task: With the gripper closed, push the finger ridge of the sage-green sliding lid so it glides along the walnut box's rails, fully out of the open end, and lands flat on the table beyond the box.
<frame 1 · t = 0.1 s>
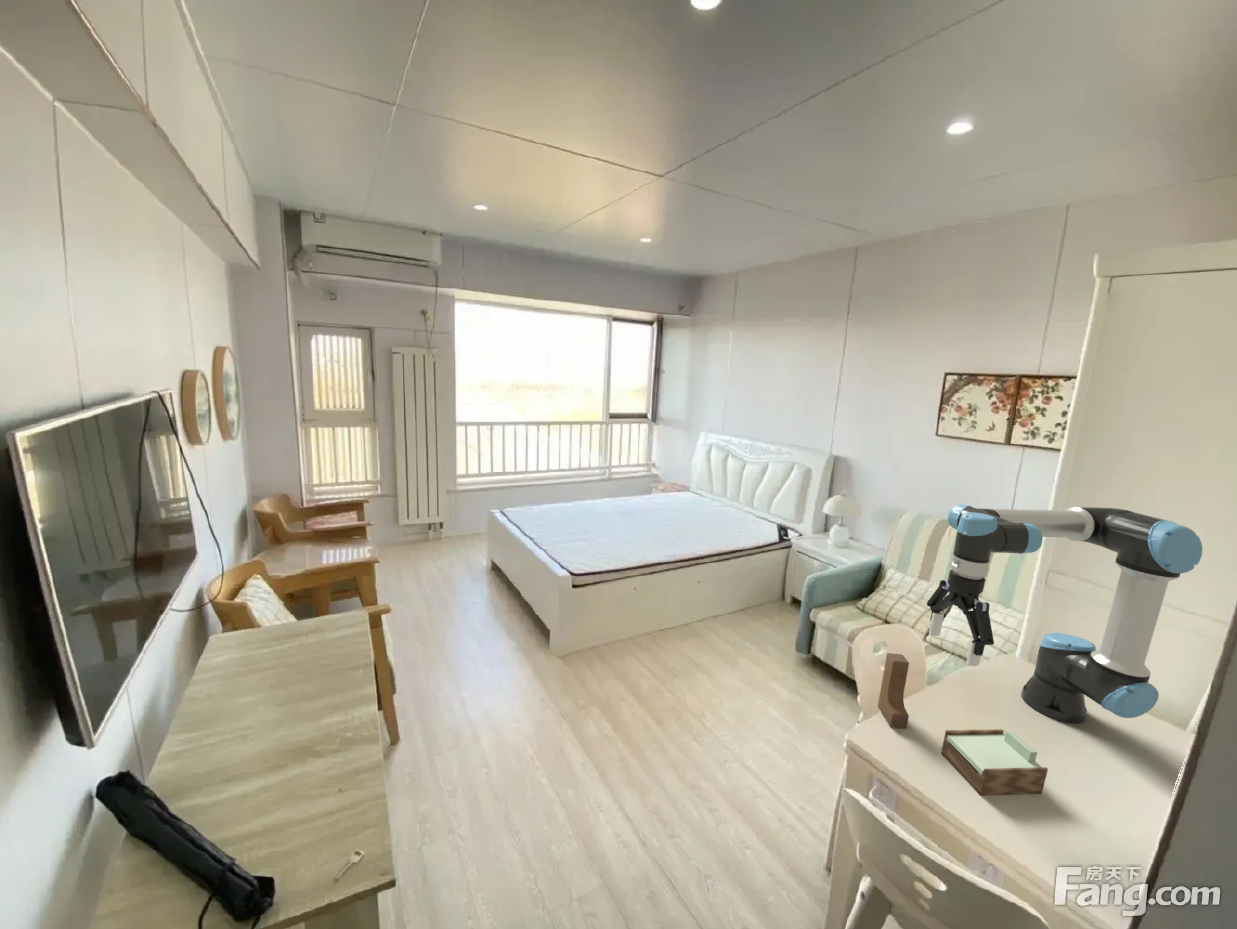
hand: (952, 649, 129), 28 cm above the table, fingers open, 13 cm apart
wooden block: (891, 718, 143), on the table
box: (989, 772, 125), on the table
lid: (993, 755, 124), point 5 cm above the table, touching box
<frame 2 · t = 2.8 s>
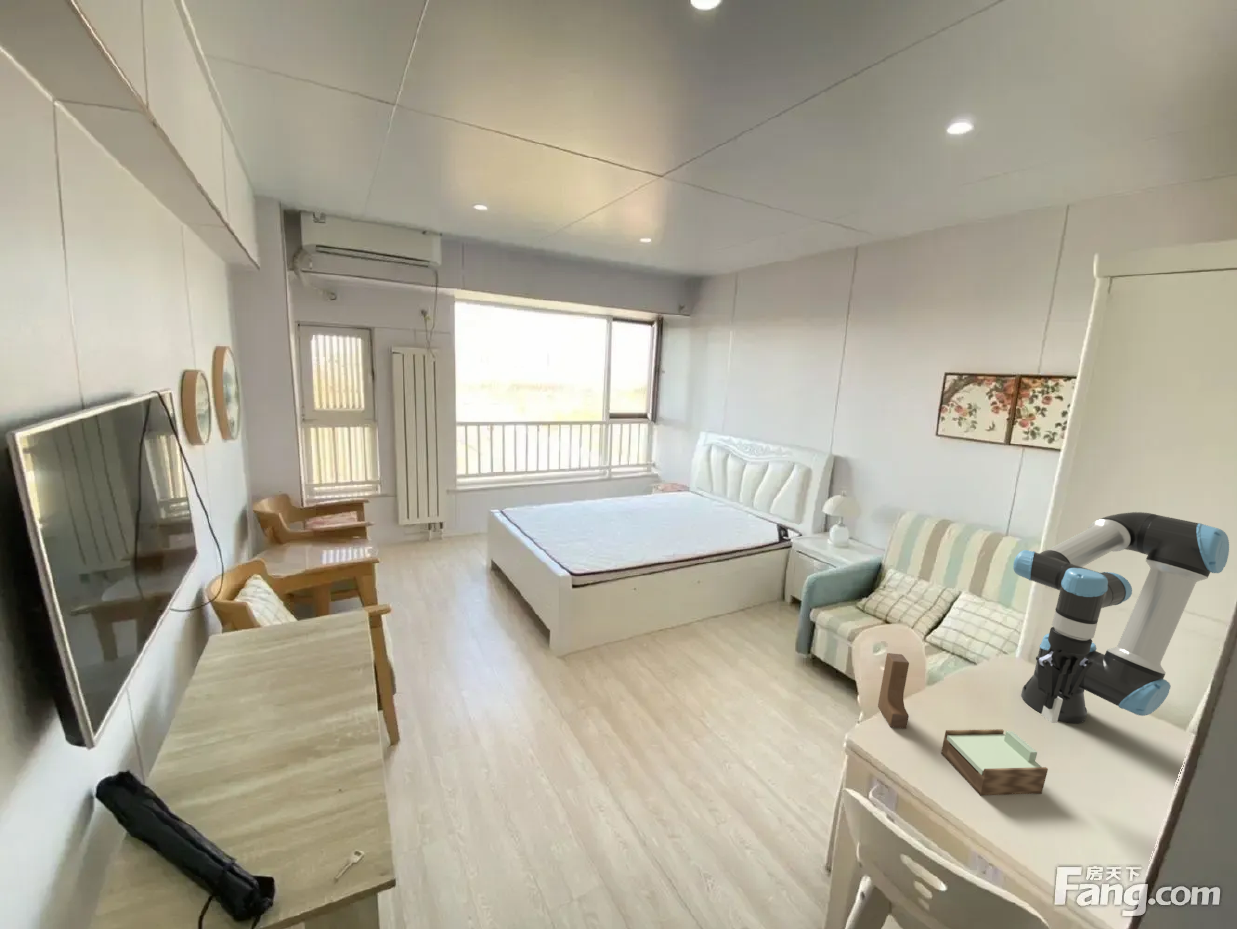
hand: (1048, 718, 122), 15 cm above the table, fingers closed
nothing on the table moved.
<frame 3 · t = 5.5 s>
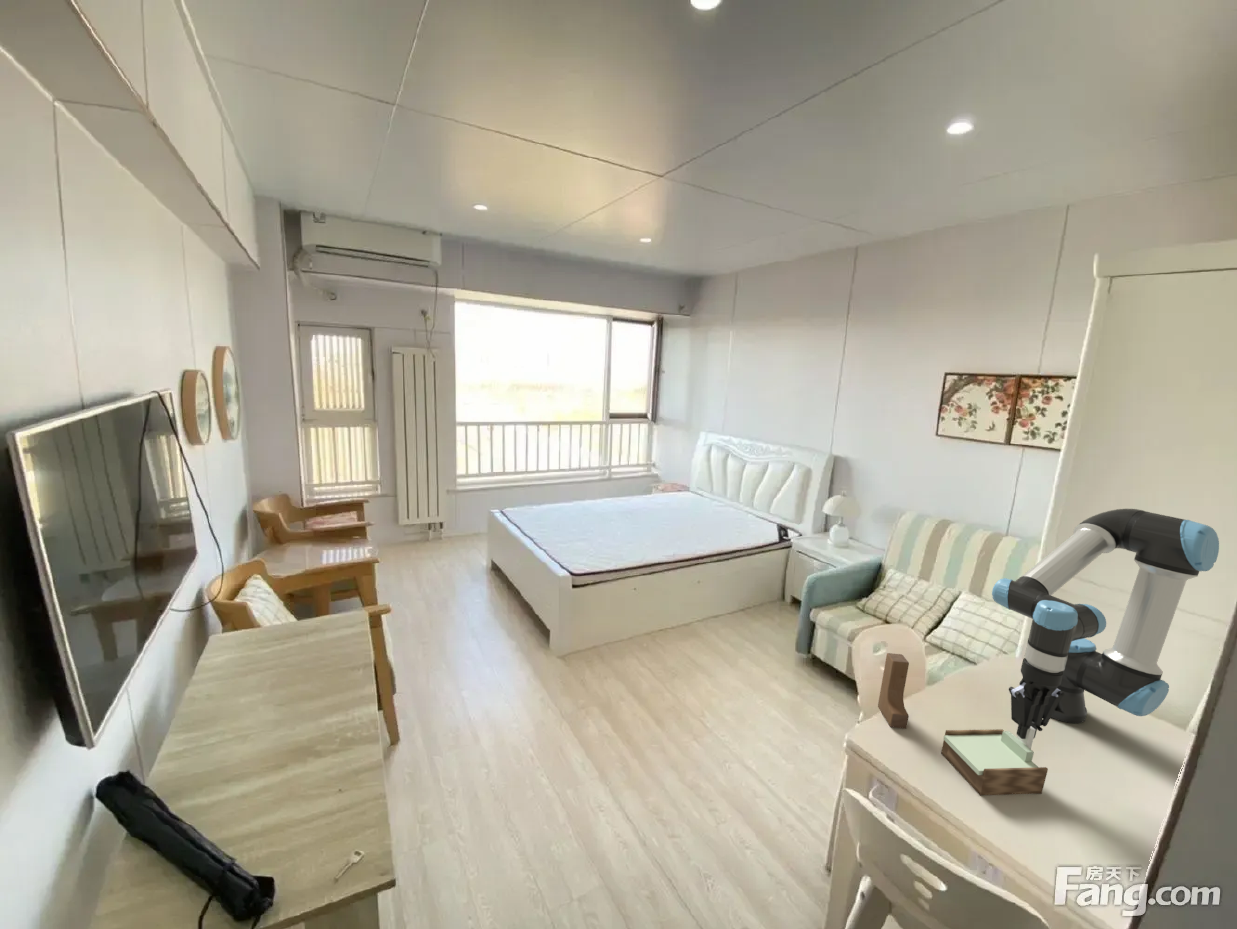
hand: (1022, 748, 124), 7 cm above the table, fingers closed
lid: (989, 755, 123), point 5 cm above the table, touching box, gripper
everything else where it was.
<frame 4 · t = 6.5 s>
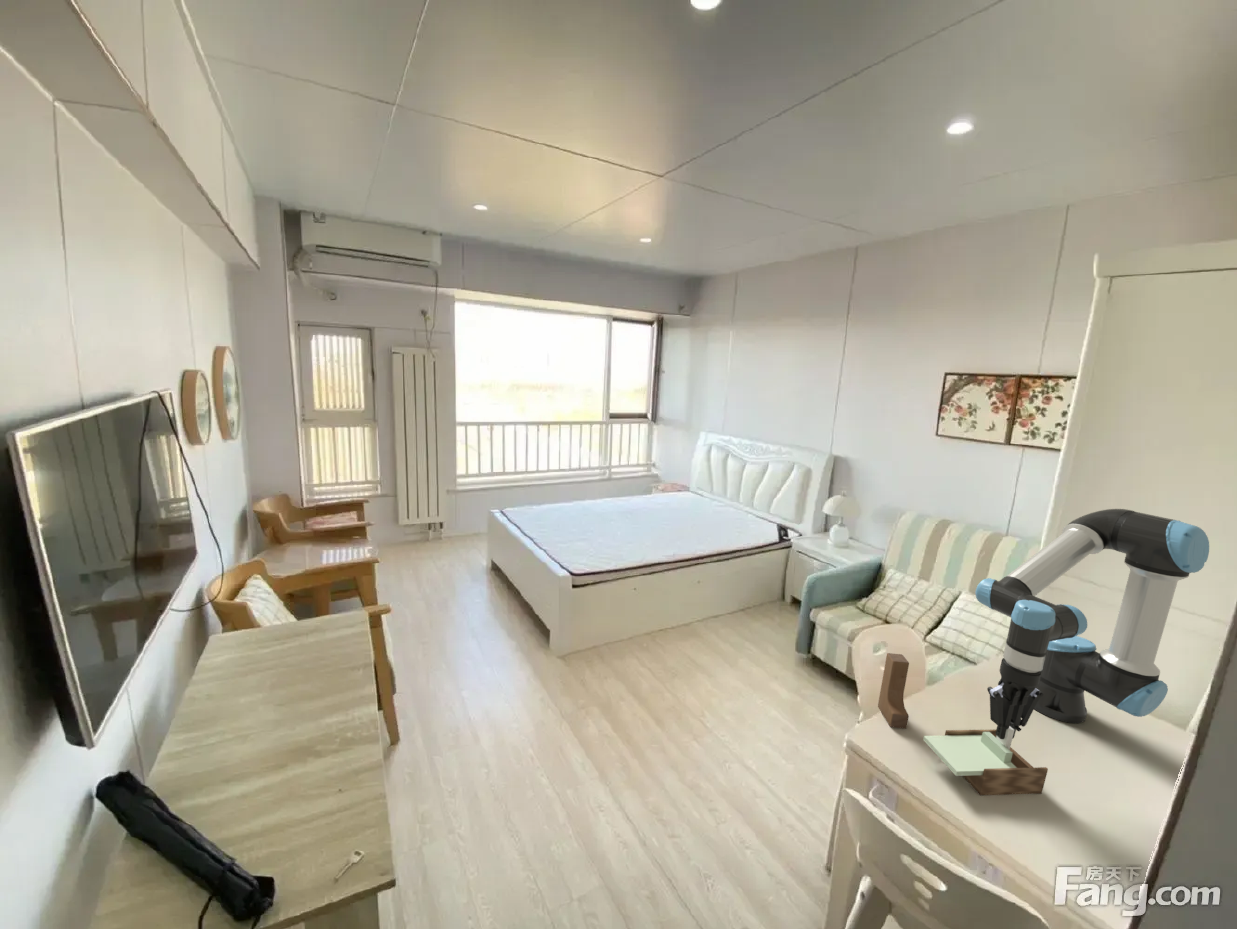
hand: (1001, 748, 123), 7 cm above the table, fingers closed
lid: (968, 756, 123), point 5 cm above the table, touching gripper
everything else where it was.
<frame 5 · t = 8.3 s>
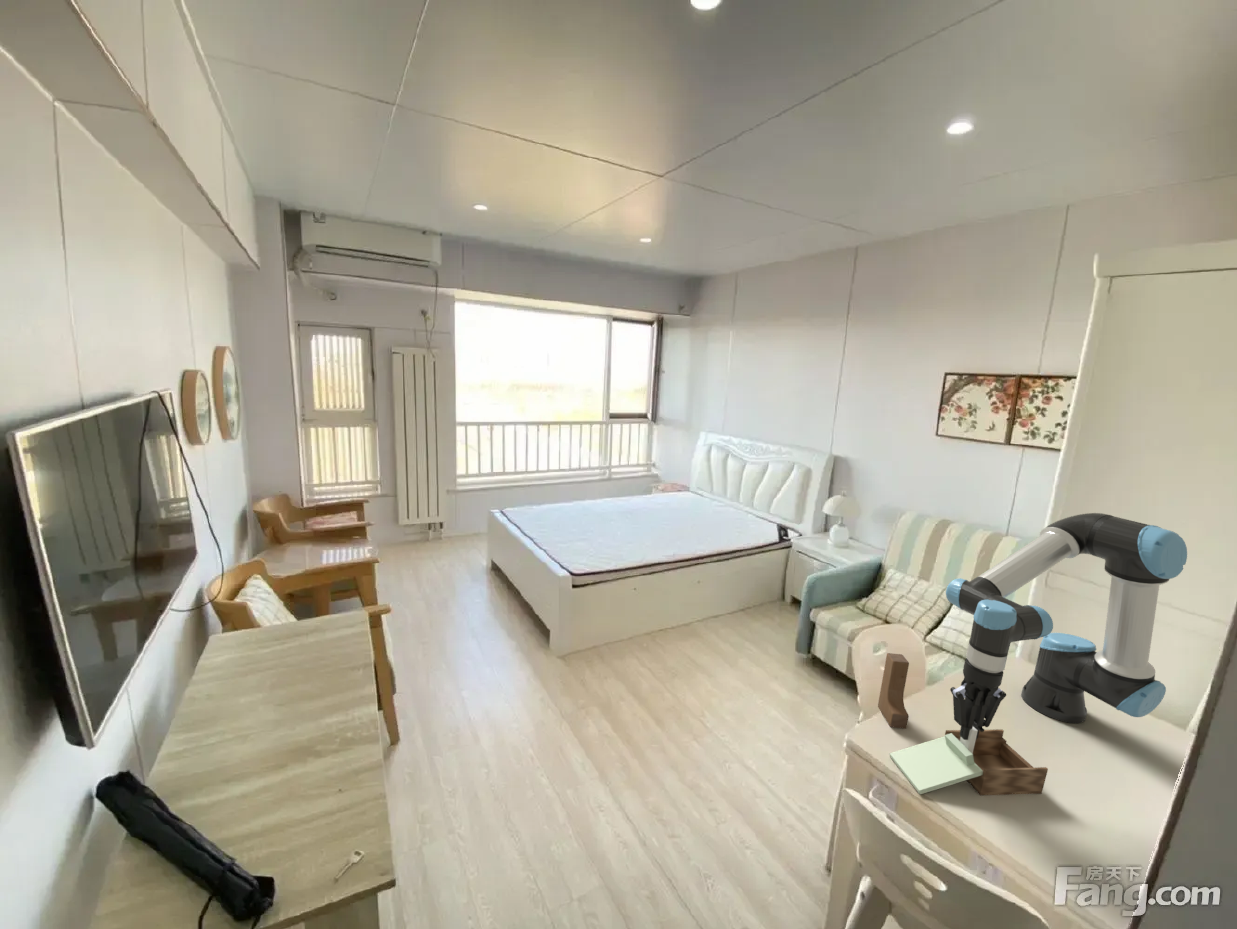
hand: (965, 749, 122), 7 cm above the table, fingers closed
lid: (934, 765, 123), point 3 cm above the table, tilted 19°
everything else where it was.
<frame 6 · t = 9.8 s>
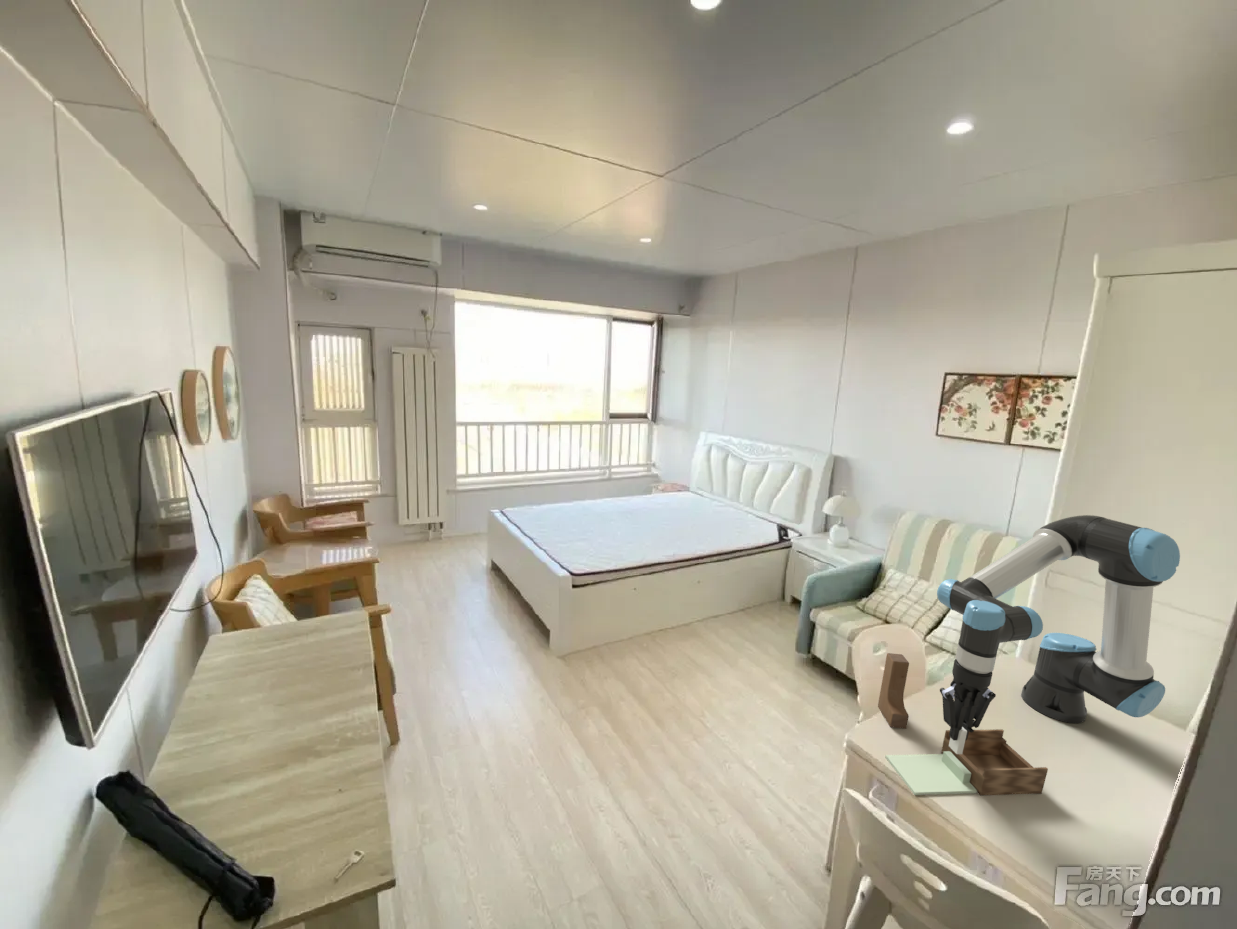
hand: (955, 749, 122), 7 cm above the table, fingers closed
lid: (928, 776, 123), on the table
everything else where it was.
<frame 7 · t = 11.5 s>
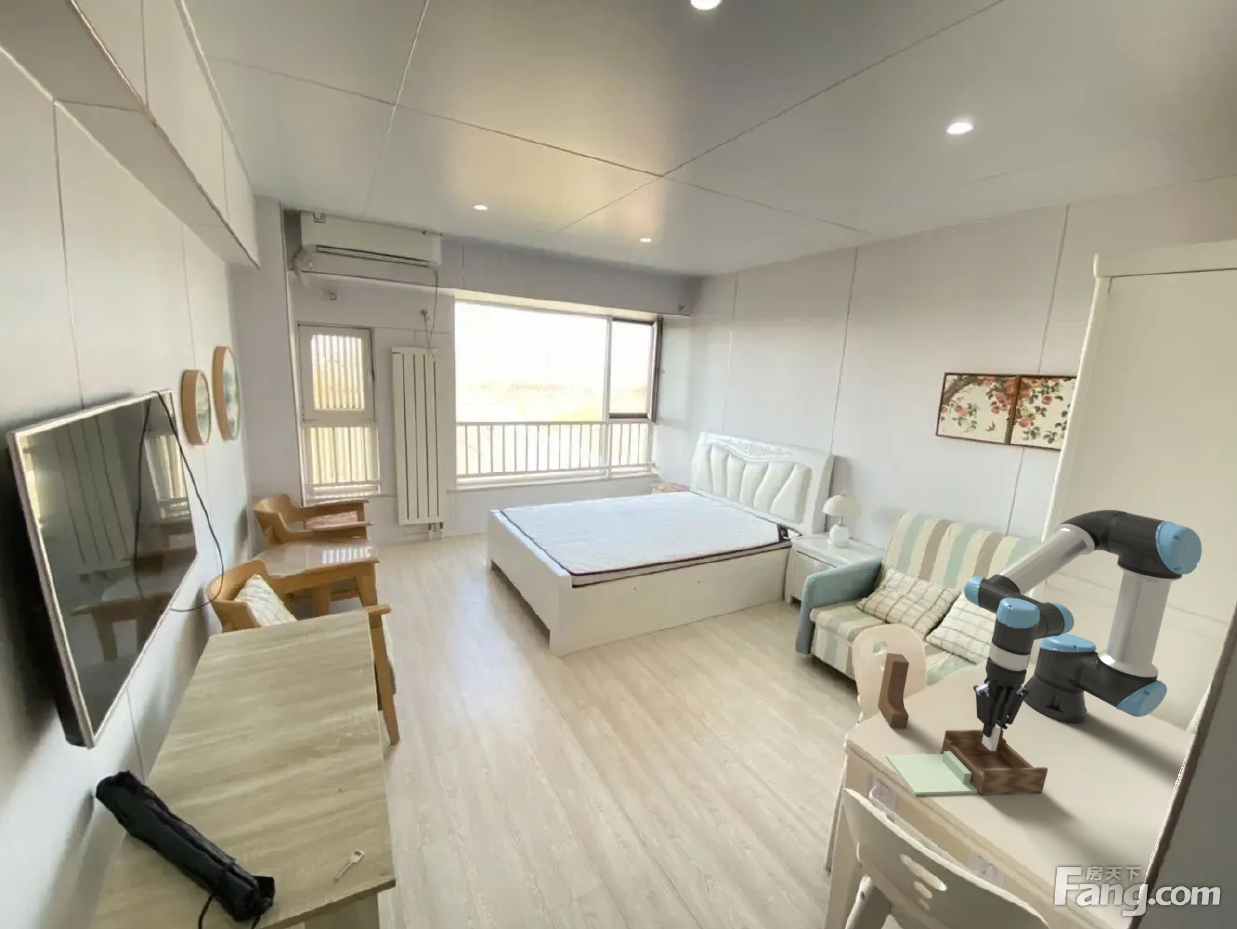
hand: (988, 746, 123), 8 cm above the table, fingers closed
nothing on the table moved.
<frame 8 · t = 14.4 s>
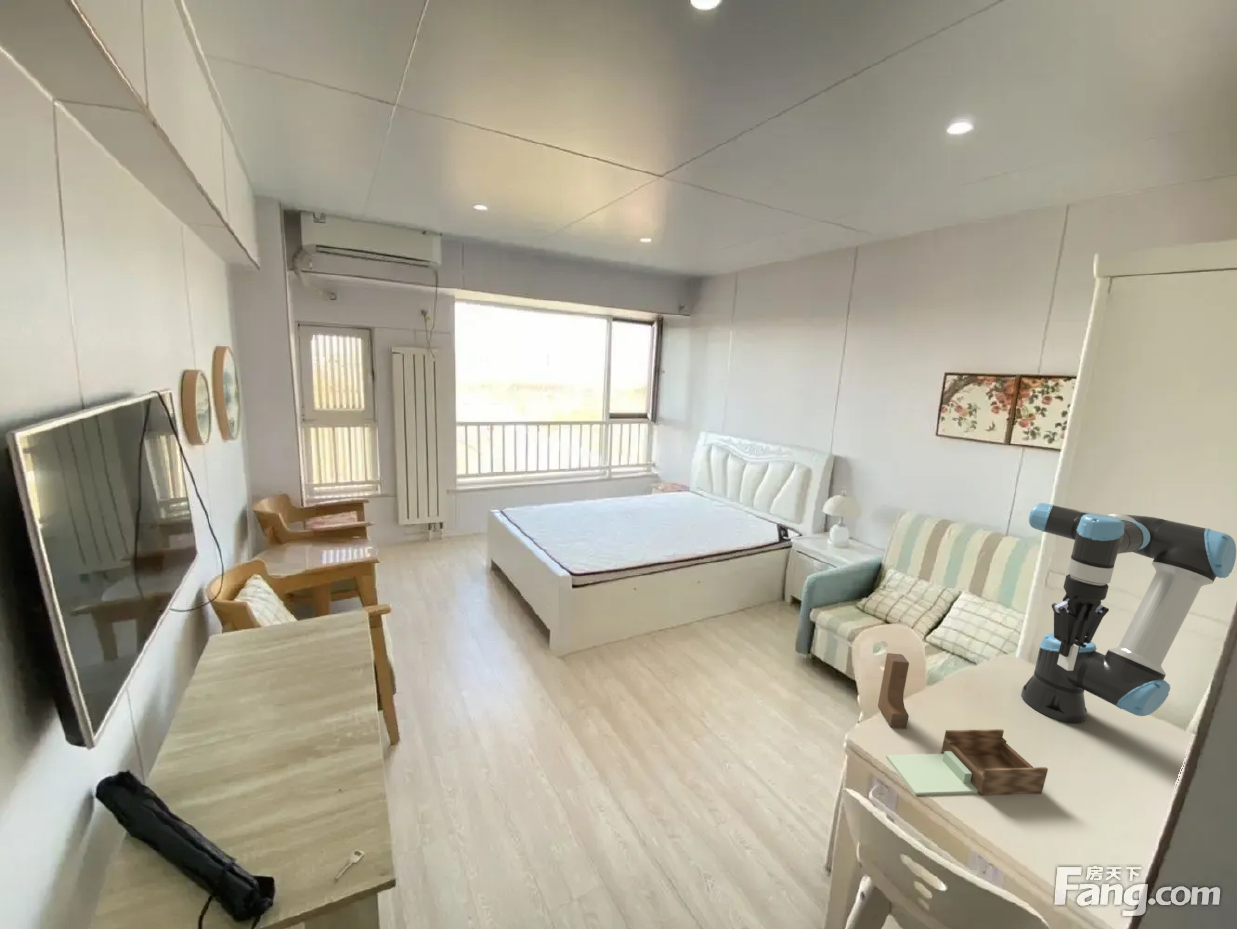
hand: (1064, 667, 122), 28 cm above the table, fingers closed
nothing on the table moved.
at the end: lid inside the target area (6.4 cm from its centre), on the table; lid tilted 1° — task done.
